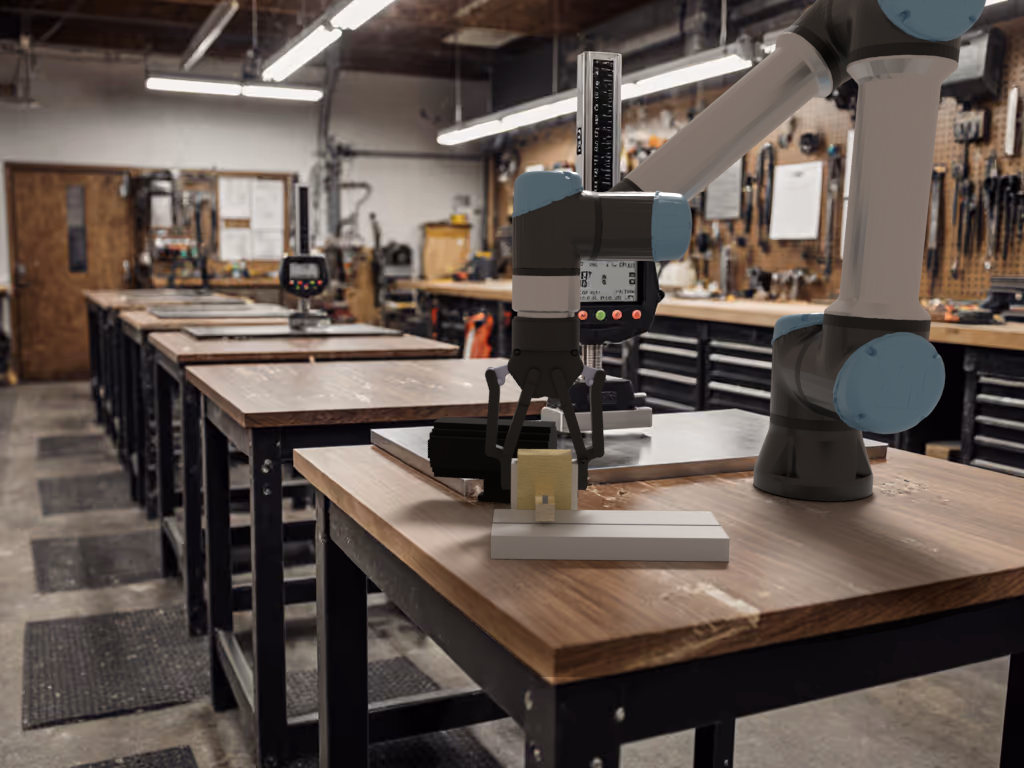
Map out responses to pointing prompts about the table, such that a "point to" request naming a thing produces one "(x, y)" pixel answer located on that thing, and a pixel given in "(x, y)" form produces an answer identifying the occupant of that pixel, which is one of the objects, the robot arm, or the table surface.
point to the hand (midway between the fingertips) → (543, 516)
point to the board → (609, 535)
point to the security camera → (481, 451)
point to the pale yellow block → (544, 481)
